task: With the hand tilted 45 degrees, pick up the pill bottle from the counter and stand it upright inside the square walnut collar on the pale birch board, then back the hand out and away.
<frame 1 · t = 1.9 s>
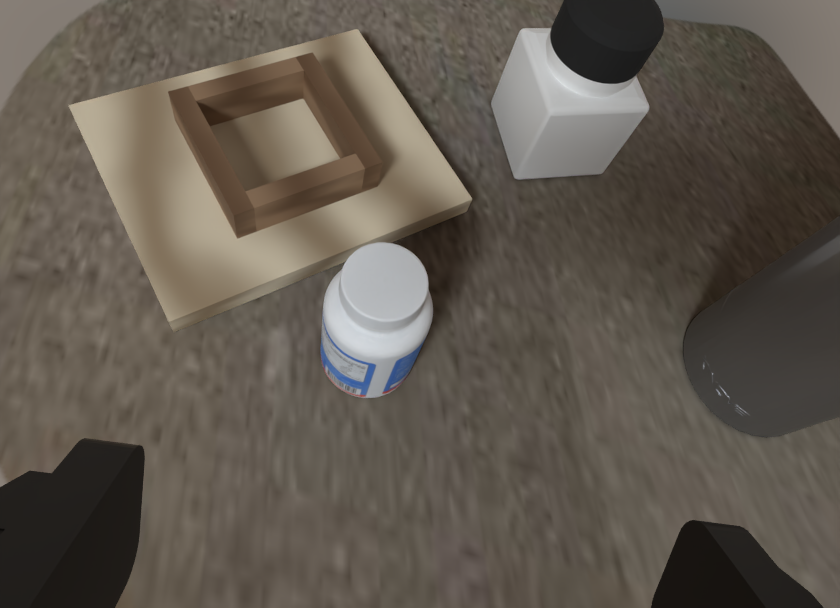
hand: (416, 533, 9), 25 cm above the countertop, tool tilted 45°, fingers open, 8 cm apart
collar board: (277, 168, 41), on the countertop
pill bottle: (365, 356, 37), on the countertop
medicine bottle: (544, 141, 46), on the countertop
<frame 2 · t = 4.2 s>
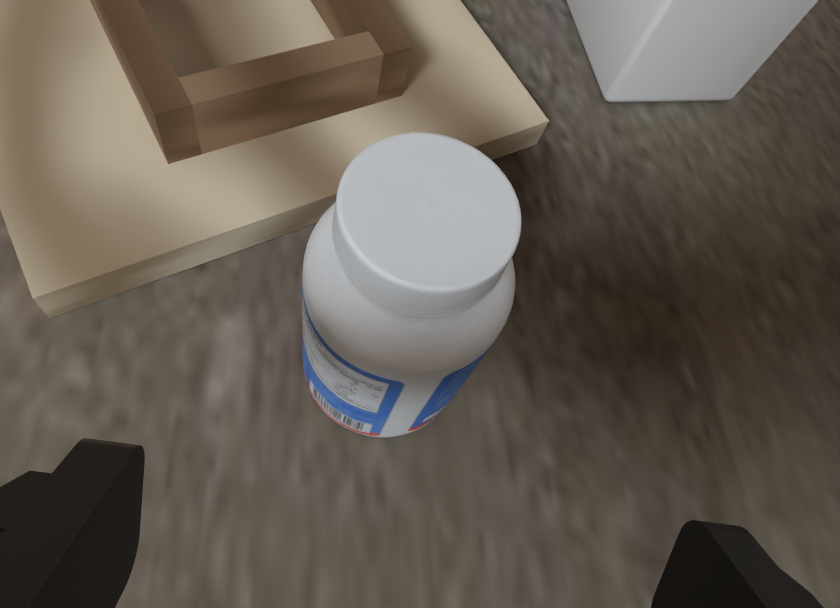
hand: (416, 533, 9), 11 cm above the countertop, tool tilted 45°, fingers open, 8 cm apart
collar board: (245, 68, 26), on the countertop
pill bottle: (378, 365, 22), on the countertop
medicine bottle: (643, 53, 32), on the countertop
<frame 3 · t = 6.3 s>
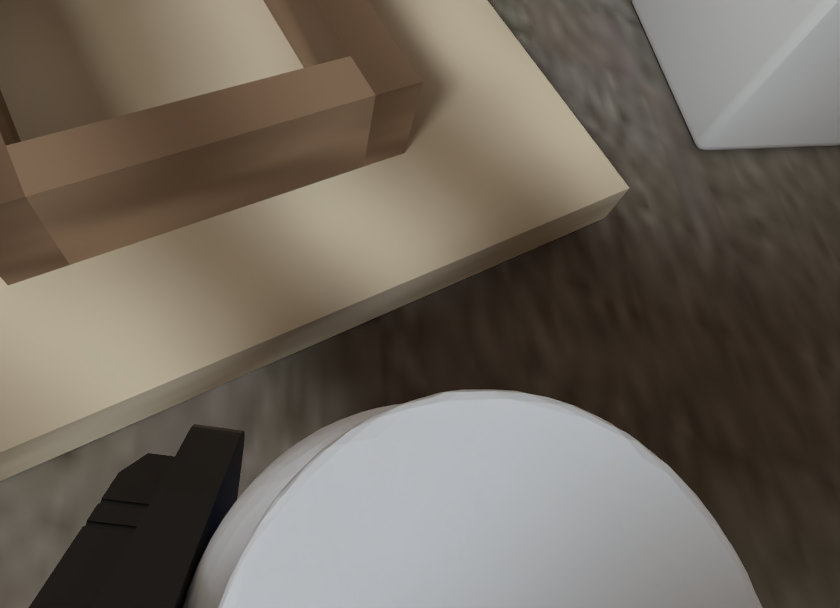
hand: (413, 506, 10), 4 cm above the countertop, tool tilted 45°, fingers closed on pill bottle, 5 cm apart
collar board: (166, 108, 17), on the countertop
medicine bottle: (739, 76, 23), on the countertop
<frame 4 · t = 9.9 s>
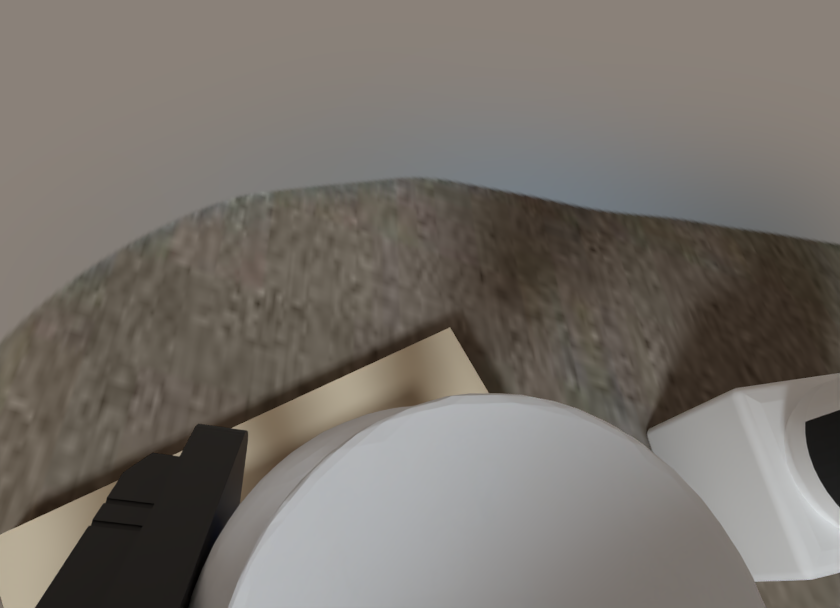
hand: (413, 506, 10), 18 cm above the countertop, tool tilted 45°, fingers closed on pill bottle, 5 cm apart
collar board: (331, 604, 25), on the countertop
medicine bottle: (727, 492, 31), on the countertop
when the fingers open (7 cm above the countertop, at t = 13.0 s): pill bottle stays where it is, resting on collar board.
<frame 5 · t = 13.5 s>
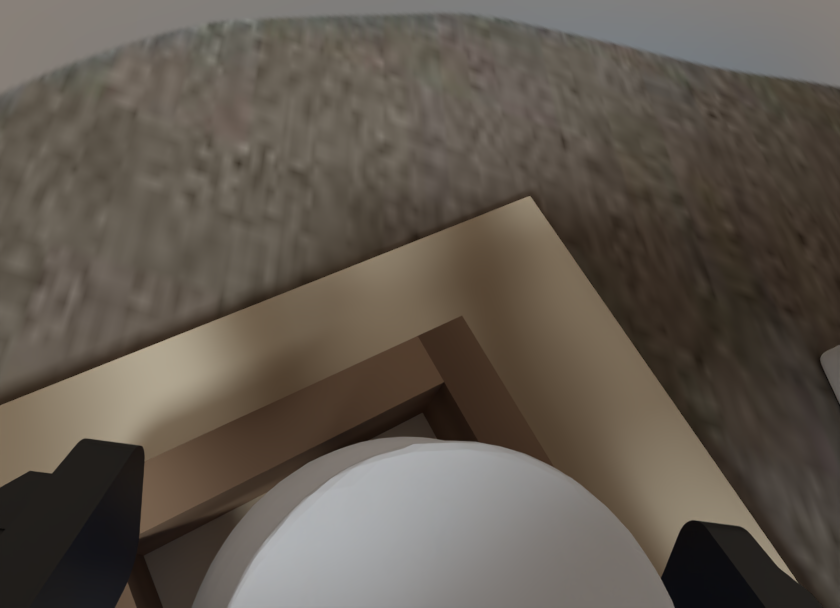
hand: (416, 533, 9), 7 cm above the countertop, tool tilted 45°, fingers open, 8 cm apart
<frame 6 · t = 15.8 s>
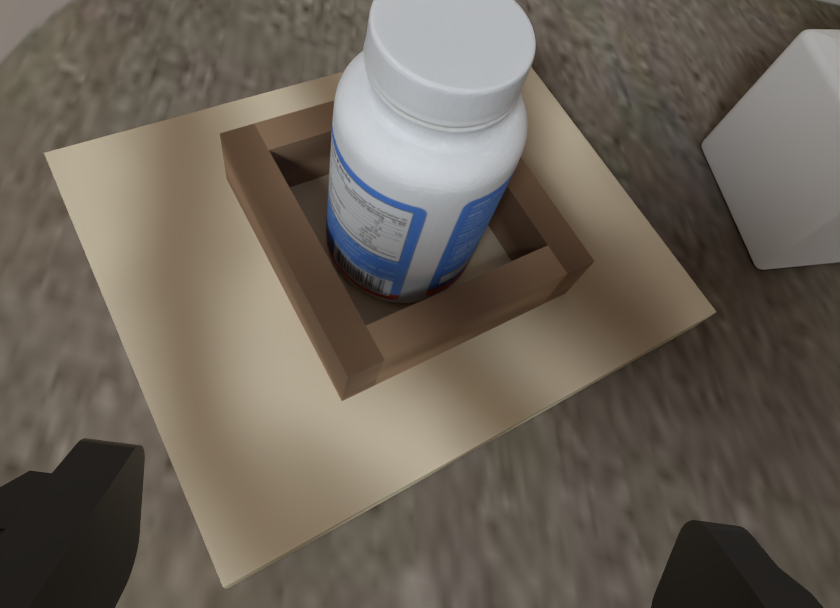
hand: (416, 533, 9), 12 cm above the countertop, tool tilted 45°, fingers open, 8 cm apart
collar board: (392, 256, 24), on the countertop
pill bottle: (395, 244, 23), point 1 cm above the countertop, touching collar board
medicine bottle: (783, 204, 30), on the countertop
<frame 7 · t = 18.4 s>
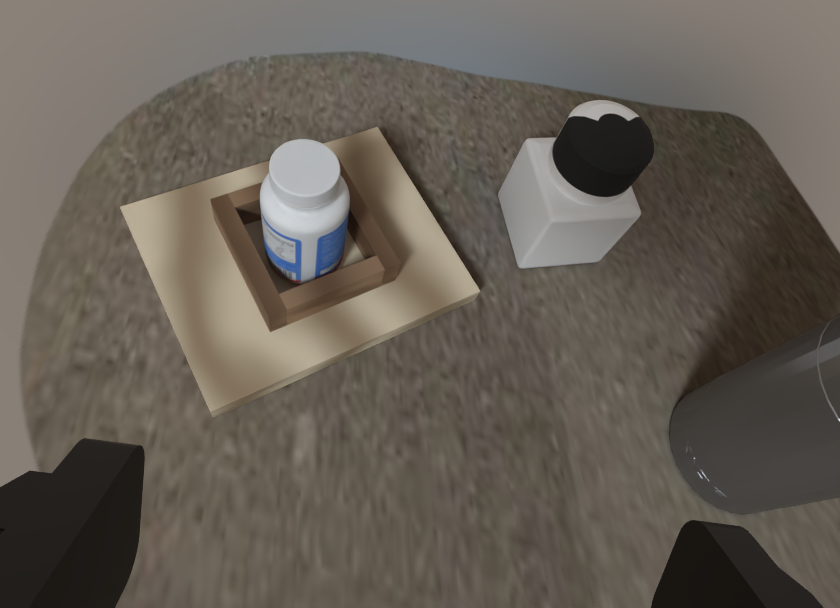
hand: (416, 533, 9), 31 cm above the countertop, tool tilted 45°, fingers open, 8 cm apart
collar board: (304, 260, 45), on the countertop
pill bottle: (304, 254, 44), point 1 cm above the countertop, touching collar board
medicine bottle: (546, 229, 51), on the countertop
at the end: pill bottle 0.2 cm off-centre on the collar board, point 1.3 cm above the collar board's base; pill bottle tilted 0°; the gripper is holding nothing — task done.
